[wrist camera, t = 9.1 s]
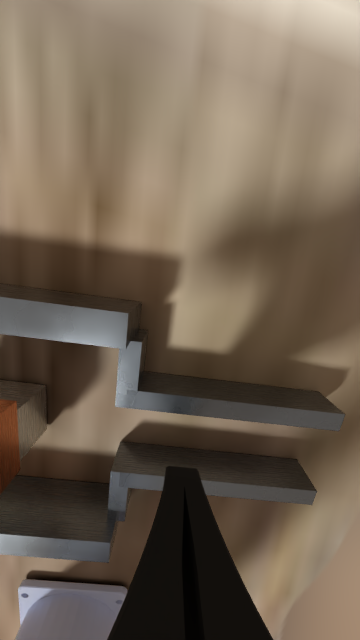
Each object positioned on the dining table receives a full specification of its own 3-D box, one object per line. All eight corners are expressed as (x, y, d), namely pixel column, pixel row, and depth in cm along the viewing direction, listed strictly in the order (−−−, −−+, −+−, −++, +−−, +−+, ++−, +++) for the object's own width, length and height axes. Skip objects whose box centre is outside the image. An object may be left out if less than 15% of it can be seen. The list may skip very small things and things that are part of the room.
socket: (278, 516, 15) (303, 577, 12) (-91, 483, 14) (-164, 541, 11) (339, 328, 11) (394, 347, 9) (-137, 265, 10) (-259, 263, 7)
